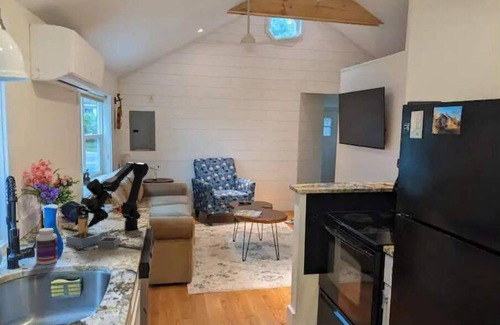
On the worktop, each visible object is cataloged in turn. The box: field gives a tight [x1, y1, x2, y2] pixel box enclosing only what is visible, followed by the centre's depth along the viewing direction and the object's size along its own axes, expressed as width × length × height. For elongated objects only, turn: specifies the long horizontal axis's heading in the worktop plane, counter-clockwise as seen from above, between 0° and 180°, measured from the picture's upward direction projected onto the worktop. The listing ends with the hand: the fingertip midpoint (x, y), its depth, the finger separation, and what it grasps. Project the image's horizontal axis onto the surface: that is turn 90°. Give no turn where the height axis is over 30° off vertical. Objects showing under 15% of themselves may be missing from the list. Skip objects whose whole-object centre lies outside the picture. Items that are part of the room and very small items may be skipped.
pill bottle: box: [35, 228, 58, 266], centre depth 161 cm, size 8×8×14 cm
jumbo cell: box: [77, 214, 89, 239], centre depth 188 cm, size 4×4×13 cm
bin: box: [65, 231, 101, 249], centre depth 189 cm, size 11×11×4 cm
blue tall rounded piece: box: [35, 197, 63, 236], centre depth 204 cm, size 15×10×20 cm
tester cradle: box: [97, 236, 121, 250], centre depth 185 cm, size 8×8×4 cm
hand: (81, 225), depth 187 cm, fingers open, 9 cm apart
